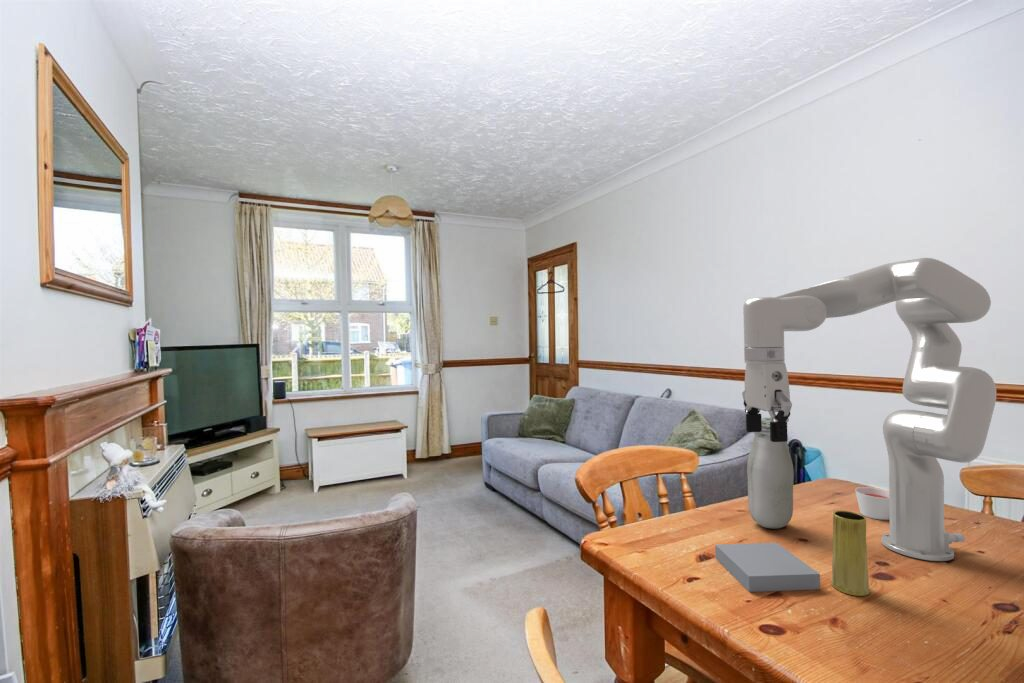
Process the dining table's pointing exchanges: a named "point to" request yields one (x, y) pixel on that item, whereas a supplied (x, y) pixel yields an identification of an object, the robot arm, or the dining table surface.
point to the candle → (873, 502)
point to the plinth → (766, 567)
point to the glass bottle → (770, 480)
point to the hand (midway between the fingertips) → (765, 436)
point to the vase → (850, 553)
